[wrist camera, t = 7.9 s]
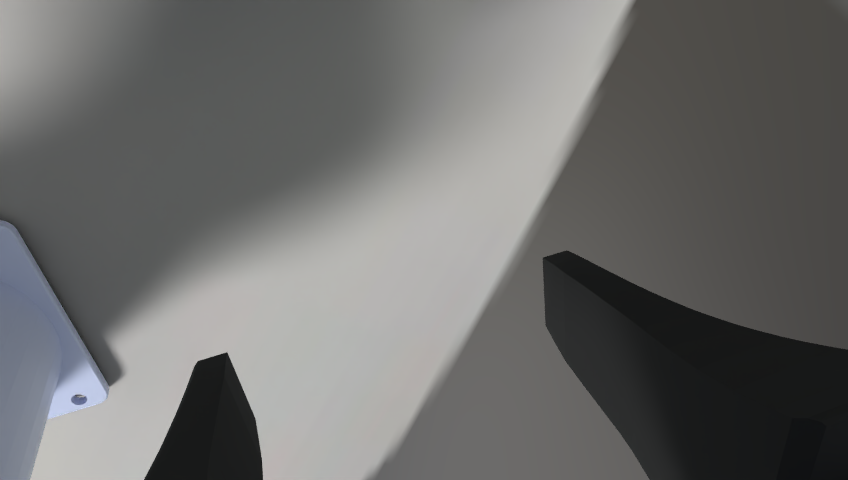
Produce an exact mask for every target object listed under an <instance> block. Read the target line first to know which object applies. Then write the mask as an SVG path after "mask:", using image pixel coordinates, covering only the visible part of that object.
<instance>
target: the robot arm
mask: <svg viewBox="0 0 848 480" xmlns="http://www.w3.org/2000/svg"><path fill="white" fill-rule="evenodd" d="M543 274H544V298H545V320H546V327H547V329H548V331H549V332H550V334H551V336H552V338H553V340H554V342H555V343H556V345H557V347H558V349H559V350H560V352H561V354H562V356H563V357H564V359H565V361H566V362H567V364H568V365H569V366H570V368H571V369H572V370H573V372H574V373H575V374H576V376H577V377H578V378H579V380H580V381H581V382H582V384H583V385H584V386H585V388H586V389H587V390H588V391H589V393H590V394H591V396H592V397H593V398H594V399H595V401H596V402H597V404H598V405H599V406H600V407H601V409H602V410H603V411H604V413H605V414H606V415H607V416H608V418H609V419H610V421H611V422H612V423H613V425H614V426H615V427H616V428H617V430H618V431H619V432H620V433H621V435H622V437H623V438H624V439H625V441H626V442H627V444H628V445H629V447H630V448H631V450H632V451H633V453H634V454H635V456H636V458H637V459H638V461H639V462H640V464H641V466H642V468H643V469H644V471H645V472H646V474H647V476H648V478H649V479H650V480H848V350H846V349H840V348H834V347H829V346H823V345H818V344H813V343H808V342H803V341H798V340H794V339H789V338H785V337H780V336H777V335H773V334H769V333H765V332H761V331H757V330H754V329H750V328H747V327H743V326H740V325H736V324H733V323H730V322H727V321H724V320H721V319H718V318H715V317H712V316H709V315H706V314H703V313H701V312H698V311H695V310H693V309H690V308H687V307H685V306H683V305H680V304H678V303H675V302H673V301H671V300H668V299H666V298H663V297H661V296H659V295H657V294H654V293H652V292H650V291H648V290H646V289H644V288H641V287H639V286H637V285H635V284H633V283H631V282H629V281H627V280H625V279H623V278H621V277H619V276H617V275H615V274H613V273H611V272H609V271H607V270H605V269H603V268H601V267H599V266H597V265H595V264H593V263H591V262H590V261H588V260H586V259H584V258H582V257H580V256H578V255H576V254H574V253H571V252H569V251H563V252H560V253H557V254H554V255H550V256H547V257H544V258H543ZM108 393H109V386H108V384H107V382H106V380H105V379H104V377H103V375H102V373H101V372H100V370H99V368H98V367H97V365H96V363H95V362H94V360H93V358H92V356H91V355H90V353H89V351H88V350H87V348H86V346H85V345H84V343H83V341H82V339H81V338H80V336H79V334H78V333H77V331H76V329H75V328H74V326H73V324H72V322H71V321H70V319H69V317H68V316H67V314H66V312H65V311H64V309H63V307H62V305H61V304H60V302H59V300H58V299H57V297H56V295H55V294H54V292H53V290H52V288H51V287H50V285H49V283H48V282H47V280H46V278H45V277H44V275H43V273H42V271H41V270H40V268H39V266H38V265H37V263H36V261H35V260H34V258H33V256H32V254H31V253H30V251H29V249H28V248H27V246H26V244H25V243H24V241H23V239H22V237H21V236H20V234H19V232H18V231H17V229H16V228H15V227H14V226H13V225H12V224H10V223H8V222H6V221H2V220H0V480H30V478H31V474H32V471H33V467H34V463H35V460H36V456H37V453H38V449H39V446H40V442H41V439H42V435H43V431H44V428H45V424H46V421H47V419H50V418H54V417H57V416H60V415H64V414H67V413H70V412H73V411H77V410H80V409H83V408H87V407H90V406H93V405H97V404H100V403H102V402H104V401H105V400H106V399H107V397H108ZM77 394H81V395H84V396H85V397H81V398H79V397H76V396H75V395H77ZM144 480H263V471H262V458H261V451H260V445H259V438H258V432H257V426H256V420H255V417H254V414H253V412H252V410H251V407H250V405H249V403H248V400H247V398H246V396H245V393H244V391H243V389H242V386H241V384H240V381H239V379H238V377H237V374H236V372H235V370H234V367H233V365H232V363H231V360H230V358H229V356H228V353H224V354H220V355H217V356H214V357H210V358H207V359H204V360H200V361H198V362H197V363H196V365H195V367H194V369H193V372H192V375H191V377H190V380H189V383H188V385H187V388H186V390H185V393H184V396H183V398H182V401H181V403H180V405H179V408H178V410H177V413H176V415H175V417H174V419H173V422H172V424H171V426H170V428H169V431H168V433H167V435H166V437H165V439H164V442H163V444H162V446H161V448H160V450H159V452H158V454H157V456H156V458H155V460H154V462H153V464H152V466H151V467H150V469H149V471H148V473H147V475H146V477H145V479H144Z"/></svg>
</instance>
